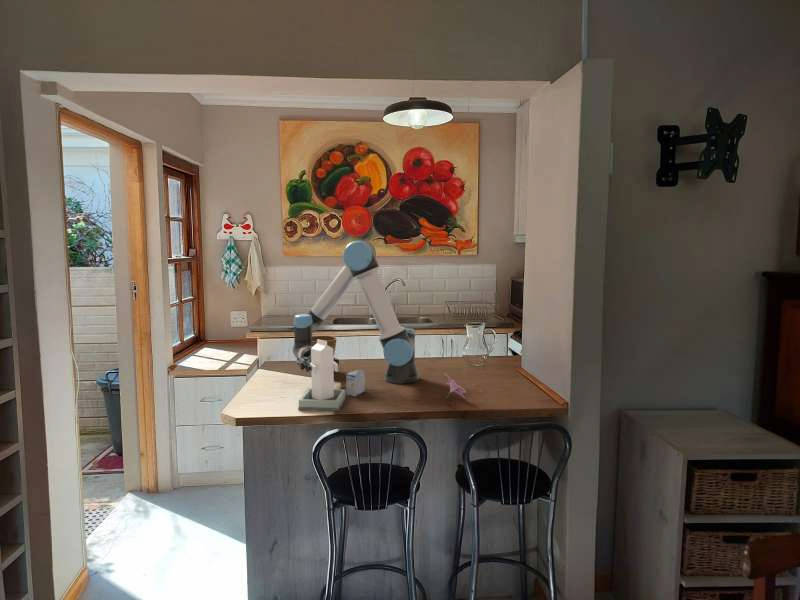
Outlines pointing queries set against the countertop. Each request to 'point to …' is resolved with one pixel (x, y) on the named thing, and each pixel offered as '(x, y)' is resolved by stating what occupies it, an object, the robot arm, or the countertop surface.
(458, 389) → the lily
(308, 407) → the carton holder
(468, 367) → the countertop surface
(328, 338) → the plant pot
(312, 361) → the milk
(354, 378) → the medicine box
